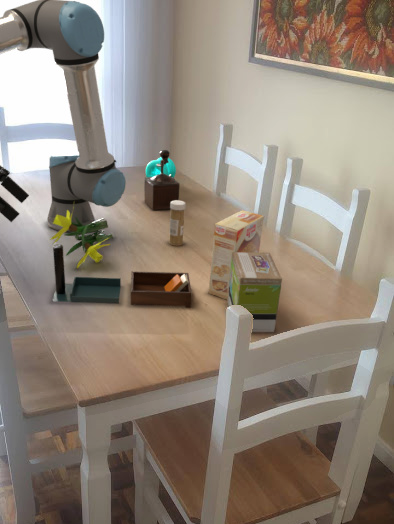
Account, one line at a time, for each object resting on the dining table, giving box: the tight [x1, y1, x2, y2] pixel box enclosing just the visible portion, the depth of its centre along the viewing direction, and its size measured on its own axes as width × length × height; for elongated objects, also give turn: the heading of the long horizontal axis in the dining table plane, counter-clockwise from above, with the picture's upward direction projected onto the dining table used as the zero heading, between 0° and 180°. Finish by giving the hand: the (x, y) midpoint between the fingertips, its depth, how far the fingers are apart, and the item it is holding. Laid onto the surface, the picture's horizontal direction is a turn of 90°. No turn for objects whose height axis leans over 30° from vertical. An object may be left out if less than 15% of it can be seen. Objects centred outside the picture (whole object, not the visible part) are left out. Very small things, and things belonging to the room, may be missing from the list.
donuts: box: [145, 156, 177, 179], centre depth 234 cm, size 10×10×10 cm
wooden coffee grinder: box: [143, 149, 180, 211], centre depth 210 cm, size 16×11×18 cm
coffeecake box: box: [207, 209, 265, 301], centre depth 152 cm, size 15×7×20 cm, turn 148°
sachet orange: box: [164, 274, 183, 292], centre depth 150 cm, size 4×5×1 cm
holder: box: [130, 271, 193, 308], centre depth 149 cm, size 12×15×4 cm
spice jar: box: [168, 199, 186, 247], centre depth 178 cm, size 5×5×14 cm
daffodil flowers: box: [49, 207, 114, 269], centre depth 165 cm, size 17×15×35 cm
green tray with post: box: [51, 244, 122, 304], centre depth 144 cm, size 10×16×13 cm, turn 94°
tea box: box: [227, 252, 283, 333], centre depth 139 cm, size 15×10×15 cm, turn 5°
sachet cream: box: [175, 274, 189, 292], centre depth 150 cm, size 4×5×1 cm
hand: (20, 208), depth 137 cm, fingers open, 13 cm apart
